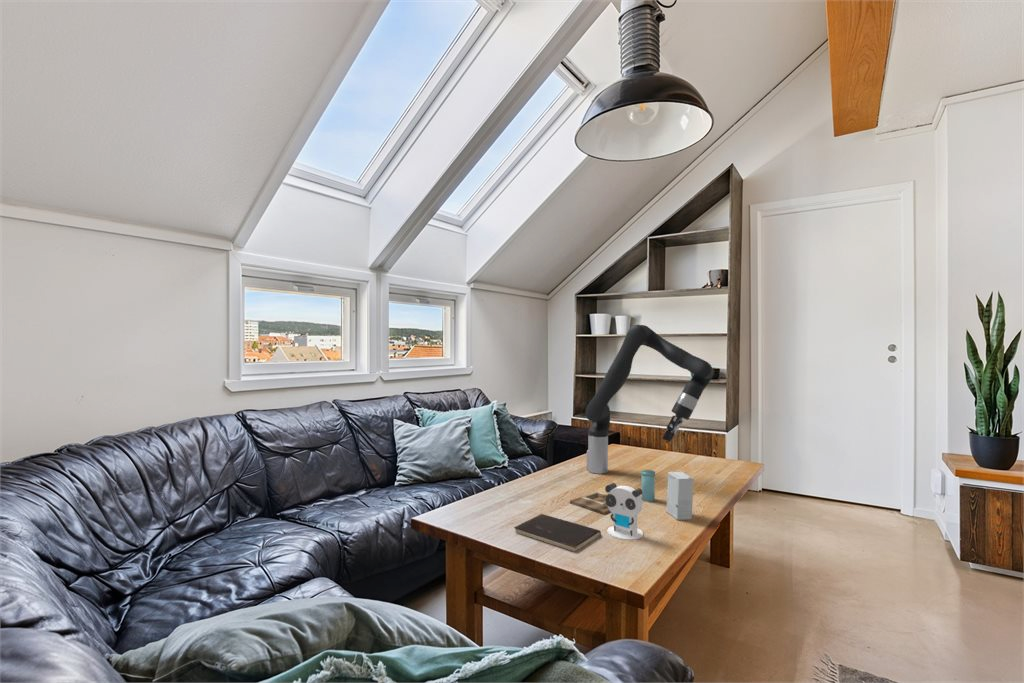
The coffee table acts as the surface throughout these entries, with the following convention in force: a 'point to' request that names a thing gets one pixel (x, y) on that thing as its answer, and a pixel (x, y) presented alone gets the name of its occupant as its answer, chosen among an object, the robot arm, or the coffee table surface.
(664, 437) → the robot arm
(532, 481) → the coffee table surface
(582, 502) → the collar base
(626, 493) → the panda figurine
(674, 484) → the skincare box
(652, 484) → the teal domed canister
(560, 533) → the hardcover book
